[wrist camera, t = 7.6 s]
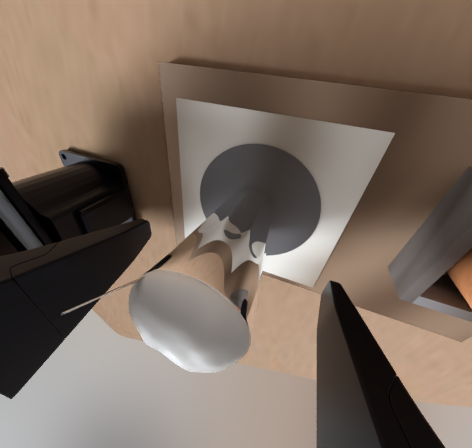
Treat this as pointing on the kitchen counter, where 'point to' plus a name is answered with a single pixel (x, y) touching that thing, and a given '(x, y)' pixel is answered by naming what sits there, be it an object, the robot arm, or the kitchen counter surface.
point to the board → (332, 182)
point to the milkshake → (206, 288)
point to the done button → (463, 276)
